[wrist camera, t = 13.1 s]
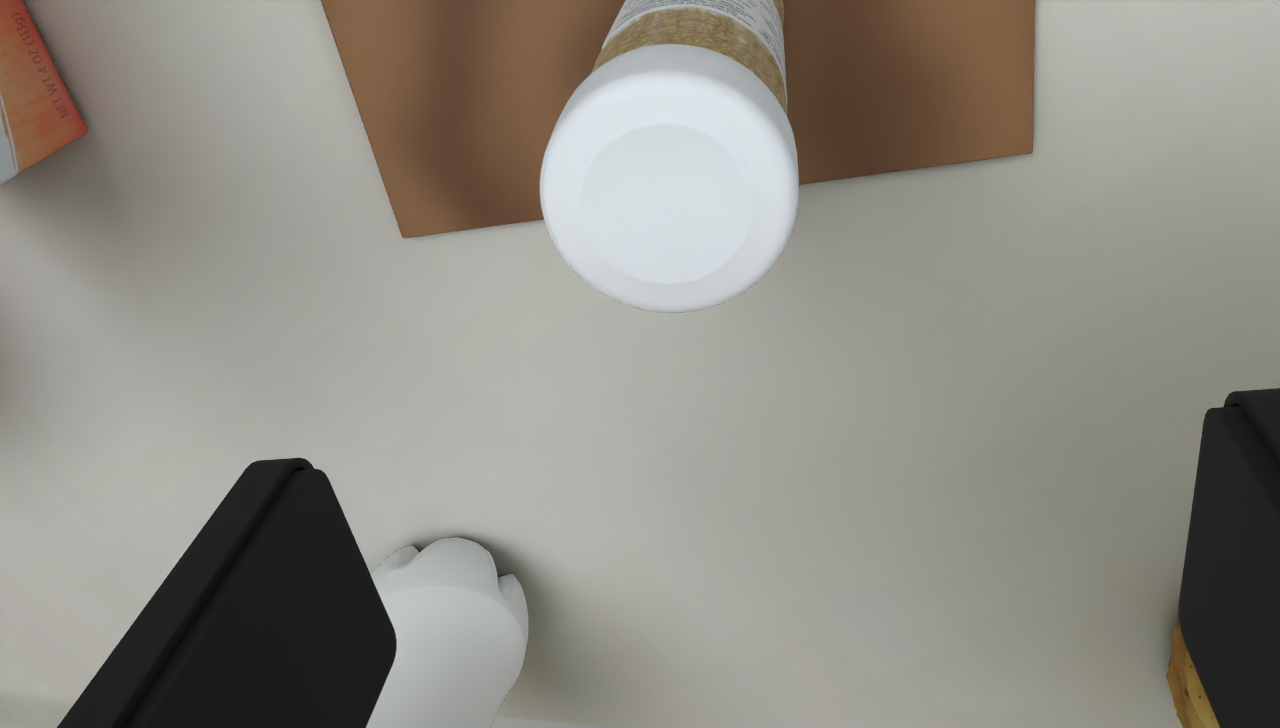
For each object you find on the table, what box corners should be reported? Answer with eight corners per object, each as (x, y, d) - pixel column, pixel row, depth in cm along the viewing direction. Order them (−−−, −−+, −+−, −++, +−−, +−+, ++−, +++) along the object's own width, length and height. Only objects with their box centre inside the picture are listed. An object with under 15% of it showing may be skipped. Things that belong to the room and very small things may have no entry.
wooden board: (1036, -332, 24) (1040, -333, 23) (1029, 147, 30) (1033, 153, 29) (272, -161, 28) (265, -159, 27) (406, 232, 34) (402, 239, 33)
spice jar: (609, 68, 29) (511, 283, 18) (649, -94, 27) (563, 38, 16) (758, 112, 30) (751, 350, 18) (810, -45, 27) (840, 120, 16)
